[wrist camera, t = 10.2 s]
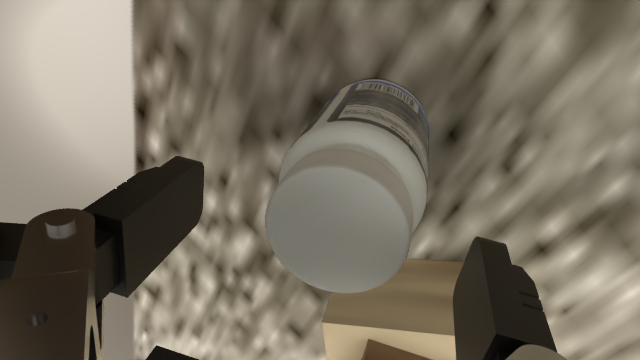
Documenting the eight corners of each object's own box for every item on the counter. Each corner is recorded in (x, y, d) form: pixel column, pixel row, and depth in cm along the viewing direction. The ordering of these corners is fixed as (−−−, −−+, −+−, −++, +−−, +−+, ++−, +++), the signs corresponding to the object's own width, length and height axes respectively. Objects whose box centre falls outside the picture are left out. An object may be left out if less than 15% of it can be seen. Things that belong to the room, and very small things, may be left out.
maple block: (344, 252, 22) (321, 322, 18) (510, 261, 20) (530, 343, 16) (355, 362, 25) (338, 443, 21) (498, 380, 23) (512, 474, 19)
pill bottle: (354, 194, 20) (307, 322, 13) (302, 109, 19) (216, 197, 12) (449, 153, 18) (456, 278, 11) (398, 55, 17) (367, 121, 10)
